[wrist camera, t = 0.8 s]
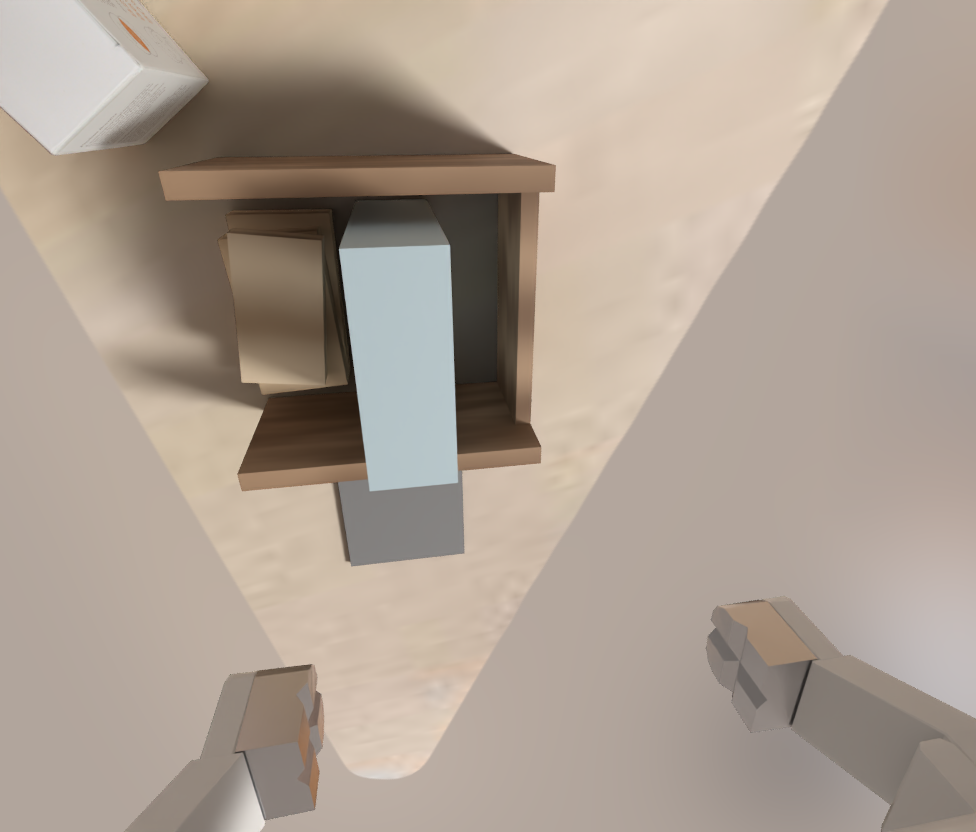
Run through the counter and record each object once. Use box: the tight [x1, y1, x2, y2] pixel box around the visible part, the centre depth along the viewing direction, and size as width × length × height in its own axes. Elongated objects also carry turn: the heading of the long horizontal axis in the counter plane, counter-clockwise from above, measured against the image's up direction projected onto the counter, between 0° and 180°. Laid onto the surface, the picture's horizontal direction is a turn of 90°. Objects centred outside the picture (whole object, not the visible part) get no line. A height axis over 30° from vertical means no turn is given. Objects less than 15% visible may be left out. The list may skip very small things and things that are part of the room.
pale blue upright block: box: [339, 199, 458, 491], centre depth 32 cm, size 12×4×15 cm, turn 0°
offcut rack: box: [158, 154, 556, 491], centre depth 34 cm, size 17×18×10 cm
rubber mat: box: [338, 471, 464, 566], centre depth 46 cm, size 14×10×1 cm
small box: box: [0, 0, 209, 155], centre depth 25 cm, size 8×6×10 cm
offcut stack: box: [217, 209, 350, 395], centre depth 35 cm, size 11×6×5 cm, turn 179°
